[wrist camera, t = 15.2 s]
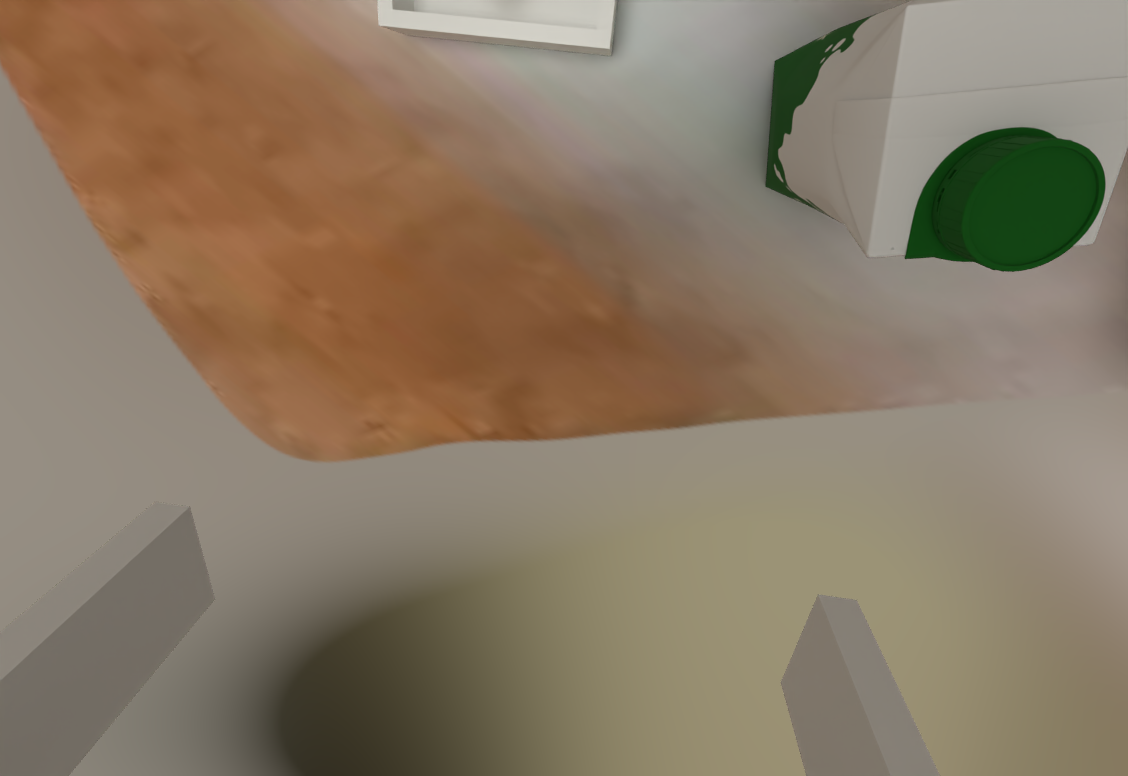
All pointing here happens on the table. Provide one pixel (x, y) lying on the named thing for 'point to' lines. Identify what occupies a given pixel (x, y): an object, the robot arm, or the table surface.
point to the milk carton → (959, 127)
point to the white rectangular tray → (508, 22)
